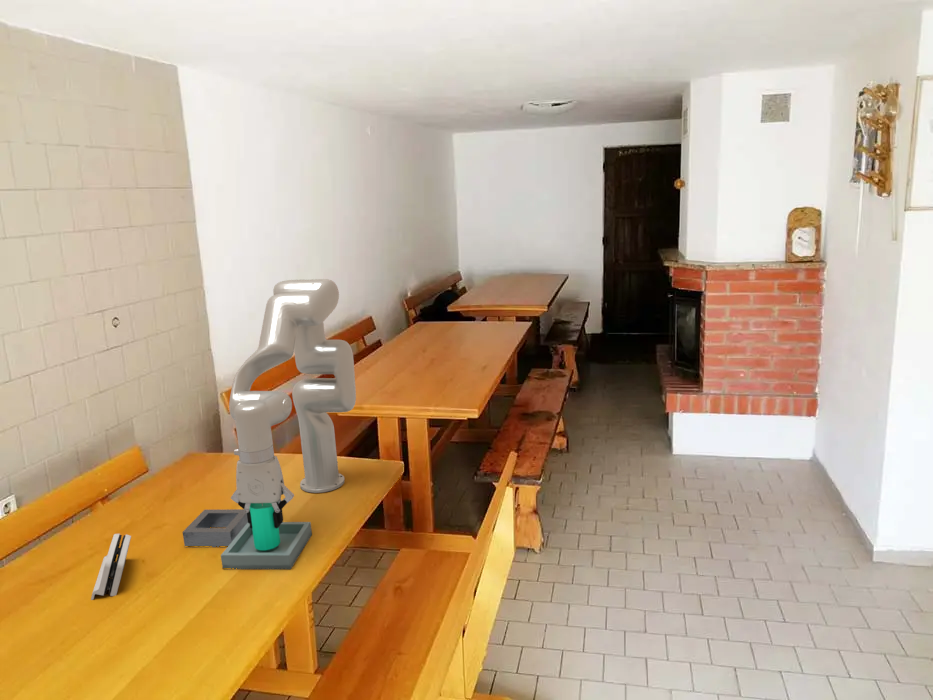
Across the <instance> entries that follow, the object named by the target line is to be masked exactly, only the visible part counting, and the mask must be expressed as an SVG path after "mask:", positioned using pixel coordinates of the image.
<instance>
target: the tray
mask: <svg viewBox="0 0 933 700" xmlns="http://www.w3.org/2000/svg"><path fill="white" fill-rule="evenodd" d="M279 535H280V544H279V545H278V546H277V547H275V548H273V549H269V550H258V549H256V548H255V546H254V539H253V531H252V528H250V524H249V523H247V524H246V525H245V526H244V528H243V529H242V530H241V531H240V532H239V534H238V535H237V536H236V537H235V539H234V540H233V541H232V542H231V543H230V545H229V546H228V547H225V549H224V551H222V553H221V554H220V560H221V567H222V569H223V568H231V569H230V570H292V568H293V566H294V565H295V563H296V561H297V560H298V558H299V557H300V555H301V554H302V552H303V550H304V548H305V546H306V545H307V544H308V542H309V540H310V539H311V536H313V533H312V523H311V521H283V522H282V523H281V525H280V526H279ZM232 568H234V569H232ZM236 568H237V569H236Z"/></svg>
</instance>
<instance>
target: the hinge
mask: <svg viewBox="0 0 933 700" xmlns="http://www.w3.org/2000/svg"><path fill="white" fill-rule="evenodd" d="M112 536H113V537H112V538H111V539H112V540H111V543H110V545H109V549H108V552H107V555H106V556H105V555H104V557H103V559H102V561H101V565H100V569H99V572H98V575H97V578H96V581H95V584H94V587H93V590H92V592H91V598H90V601H93V600H94V599H95V595H99V596H105V594H107V592H108V595H109V597H115V596H117V593H118V591H119V586H120V583H121V579H122V575H123V571H124V567H125V564H126V560H127V555H128V551H129V547H130V543H131V539H132V535H129V534H123V535H122V534H121V533H114V534H113V535H112ZM122 536H123V537H122Z"/></svg>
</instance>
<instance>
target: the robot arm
mask: <svg viewBox="0 0 933 700" xmlns="http://www.w3.org/2000/svg"><path fill="white" fill-rule="evenodd" d="M272 291H273V295H271V296H270V297H269V298H268V300H267V301H266V305H265V309H264V314H263V320H262V326H261V332H260V336H259V344H258V347H257V349H256V350H255V352H253V353H252V354H250V356H249V357H248V358H247V359H246V360H245V361H244V362H243V363H242V365H241V366H240V367H239V368H238V370H237V372H236V374H235V375H234V378H233V381H232V384H231V385H232V387H231V391H230V396H229V403H228V406H229V407H228V408H229V409H228V410H229V415H230V417H231V419H233V420H234V422H235V430H236V435H237V437H236V438H237V443H238V448H237V449H234V450H233V455H234V456H238V458H239V459H238V460H237V462H236V469H235V470H236V475H235V477H236V480H235V481H236V482H235V484H236V486H235V487H236V490H235V491H234V492H233V493H232V494H231V497H230V499H231V500H232V501H233V502H235V503H236V504H238V507H240V508H241V509H244V512H246V513H247V519H248V523H249V524H250V528H252V521H251V514H250V507H249V506H251V503H271V504H272V506H273V508H274V513H273V519H274V527H275V528H278V527H279V526H280V525H281V523H282V522H284V514H283V508H285V506H286V505H287V504H288V503H290V502H291V500H293V499H294V497H295V494H294V493H293V492H292V491H291V490H290V489H289V488H288V487H287V486H286V485H285V482H284V481H285V480H284V474H283V471H282V467H281V464H280V461H279V459H278V456H276V455H275V451H274V442H273V433H272V427H273V426H275V425H278V424H280V423H282V422H284V421H285V420H287V418H289V416H290V415H291V413H292V409H293V406H294V408H295V409H294V410H295V412H296V415H297V421H298V426H299V428H298V429H299V435H300V444H301V452H302V461H303V469H304V478H302V480H300V483H299V485H300V489H301V490H302V491H304V492H307V493H313V494H320V493H327V492H331V491H335V490H336V489H337V490H338V489H339V488H341V487H342V486H343V485H344V484H345V476H344V475H343V474H341V473H340V472H339V466H338V463H339V462H338V455H337V445H336V433H335V427H334V422H333V420H332V418H331V417H330V415H329V413H348V412H350V411H352V410H353V409H354V407H355V406H356V400H357V393H356V392H357V391H356V378H355V377H356V375H355V374H356V373H355V361H354V353H353V350H352V347H351V345H350V344H349V343H348V341H346V340H344V339H343V340H342V339H327V338H326V335H325V324H324V322H325V320H326V319H327V318H328V317H329V316H330V315H331V314H332V313H333V312H334V311H335V309H336V307H337V305H338V303H339V298H340V294H339V293H340V292H339V287H338V286H337V284H336V282H334V281H333V280H331V279H328V278H315V279H314V278H313V279H291V280H290V279H289V280H287V279H286V280H282V281H279V282H277V283H276V284H275V285H274V287H273V290H272ZM293 356H294V360H295V365H296V366H295V367H296V369H297V370H298V371H299V372H300V374H301V373H302V374H306V375H334V377H333V378H332V377H330V378H326V377H319V378H318V377H313V378H312V377H311V378H304V379H303V378H302V379H301V380H299V381H297V382H296V383H295V384H294V385H293V388H292V391H291V393H292V394H291V397H292V399H291V397H290V395H289V394H287V393H286V392H284V391H279V390H251V389H252V385H253V383H254V382H255V380H256V379H257V378H258V377H259V376H261V375H262V374H263V373H265V372H267V371H268V370H271V369H272V368H275V367H276V366H279V365H280V364H281V365H282V364H283V363H285V362H287V361H289V360H290V359H292V357H293ZM292 401H293V402H292ZM282 496H284V498H283V499H282V498H281V497H282Z"/></svg>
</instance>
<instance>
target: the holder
mask: <svg viewBox="0 0 933 700" xmlns="http://www.w3.org/2000/svg"><path fill="white" fill-rule="evenodd" d="M247 523H248V519H247V513H246V512H244V509H243V508H241V509H236V508H235V509H203V511H201V512H200V514H198V516H197V517H196V518H194V520H193V521H192V522H191V523H190V524H189V525H188V526H187V527H186V528H185V529H183V531H182V537H183V543H184V547H185V546H212V547H211V548H220V547H219V546H229V545H230V543H231V542H232V541H233V540H234V539H235V537H236V536H237V535H238V534H239V532H240V531H241V530H242V529H243V528H244V526H245V525H246V524H247ZM210 527H211V528H210ZM216 546H217V547H216Z"/></svg>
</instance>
